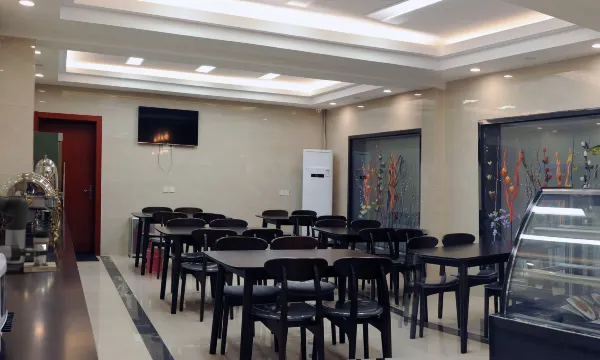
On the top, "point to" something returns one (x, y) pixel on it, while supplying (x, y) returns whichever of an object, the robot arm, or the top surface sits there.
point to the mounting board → (39, 267)
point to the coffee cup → (41, 238)
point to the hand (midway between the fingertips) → (44, 251)
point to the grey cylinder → (42, 258)
